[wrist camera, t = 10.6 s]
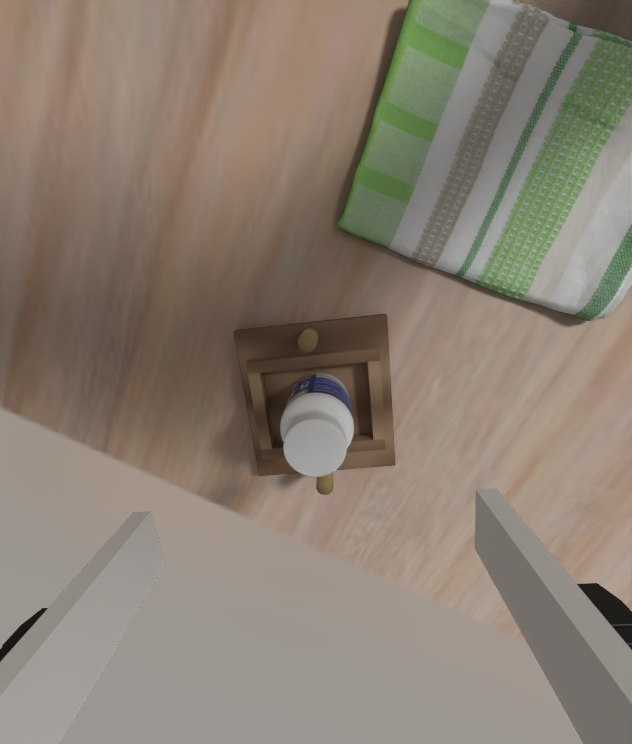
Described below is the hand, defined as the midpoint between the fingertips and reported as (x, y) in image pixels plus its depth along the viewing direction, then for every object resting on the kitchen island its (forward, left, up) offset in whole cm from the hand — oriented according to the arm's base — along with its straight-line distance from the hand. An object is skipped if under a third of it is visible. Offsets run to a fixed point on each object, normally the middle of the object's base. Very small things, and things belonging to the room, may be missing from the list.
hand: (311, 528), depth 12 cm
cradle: (0, 0, -17) cm, 17 cm away
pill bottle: (0, 0, -16) cm, 16 cm away
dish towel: (-17, +17, -18) cm, 29 cm away
